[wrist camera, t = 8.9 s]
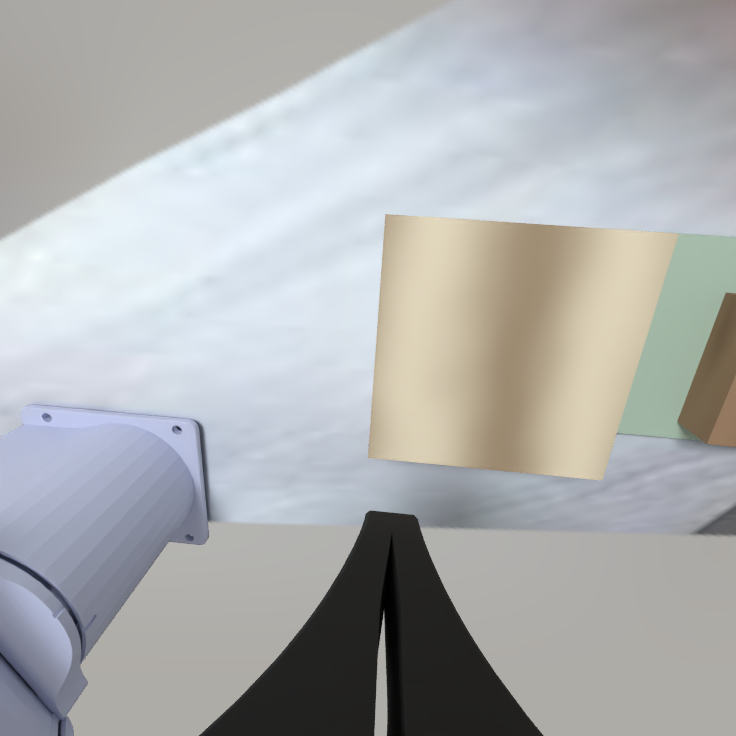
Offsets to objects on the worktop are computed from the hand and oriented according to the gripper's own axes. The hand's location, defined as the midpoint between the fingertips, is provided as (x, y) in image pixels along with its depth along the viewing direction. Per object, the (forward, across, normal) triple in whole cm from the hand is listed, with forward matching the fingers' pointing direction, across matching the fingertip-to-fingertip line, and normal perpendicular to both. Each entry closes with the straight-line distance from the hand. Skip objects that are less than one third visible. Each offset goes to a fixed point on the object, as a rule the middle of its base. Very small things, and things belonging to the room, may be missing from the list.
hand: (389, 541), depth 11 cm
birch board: (+9, -4, -4) cm, 11 cm away
